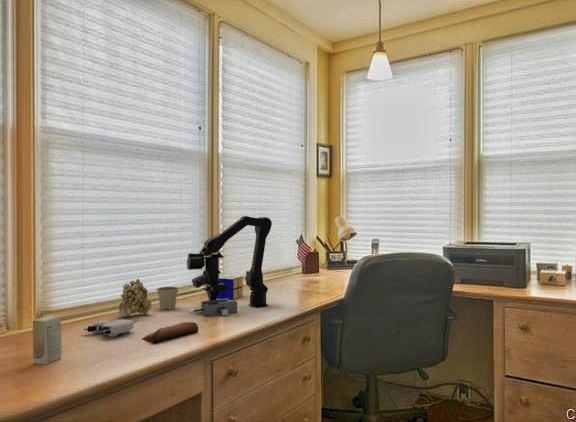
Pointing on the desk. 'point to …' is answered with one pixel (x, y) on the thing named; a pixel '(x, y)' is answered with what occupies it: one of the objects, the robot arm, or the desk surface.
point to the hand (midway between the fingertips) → (211, 305)
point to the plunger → (221, 310)
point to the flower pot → (167, 297)
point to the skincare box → (47, 339)
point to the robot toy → (111, 327)
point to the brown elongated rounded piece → (171, 332)
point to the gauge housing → (216, 308)
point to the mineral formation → (134, 299)
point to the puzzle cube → (231, 287)
